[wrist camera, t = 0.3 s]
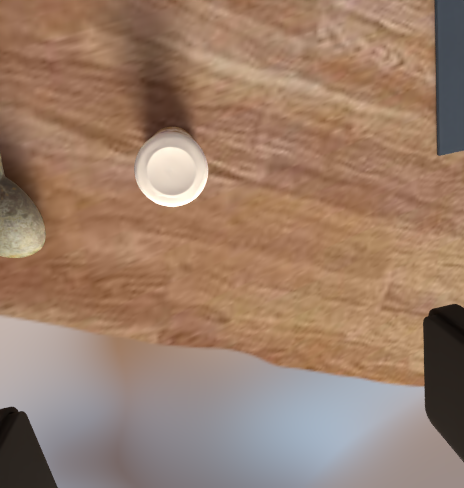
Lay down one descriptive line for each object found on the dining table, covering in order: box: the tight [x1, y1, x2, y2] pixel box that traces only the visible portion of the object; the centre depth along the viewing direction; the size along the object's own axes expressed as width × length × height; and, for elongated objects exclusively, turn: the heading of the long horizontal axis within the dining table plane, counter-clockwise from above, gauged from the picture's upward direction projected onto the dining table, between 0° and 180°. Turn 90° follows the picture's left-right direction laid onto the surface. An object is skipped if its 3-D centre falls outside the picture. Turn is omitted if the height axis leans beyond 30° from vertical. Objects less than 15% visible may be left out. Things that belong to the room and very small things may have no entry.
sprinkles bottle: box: [134, 127, 208, 207], centre depth 31 cm, size 5×5×13 cm
